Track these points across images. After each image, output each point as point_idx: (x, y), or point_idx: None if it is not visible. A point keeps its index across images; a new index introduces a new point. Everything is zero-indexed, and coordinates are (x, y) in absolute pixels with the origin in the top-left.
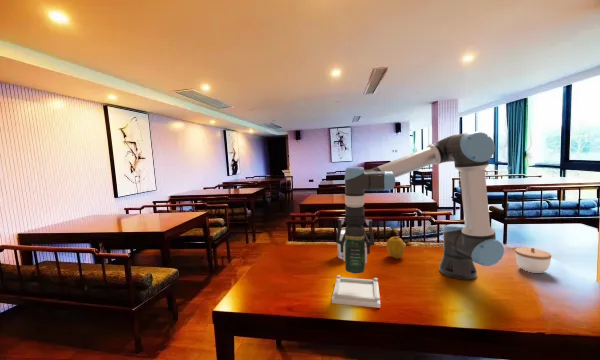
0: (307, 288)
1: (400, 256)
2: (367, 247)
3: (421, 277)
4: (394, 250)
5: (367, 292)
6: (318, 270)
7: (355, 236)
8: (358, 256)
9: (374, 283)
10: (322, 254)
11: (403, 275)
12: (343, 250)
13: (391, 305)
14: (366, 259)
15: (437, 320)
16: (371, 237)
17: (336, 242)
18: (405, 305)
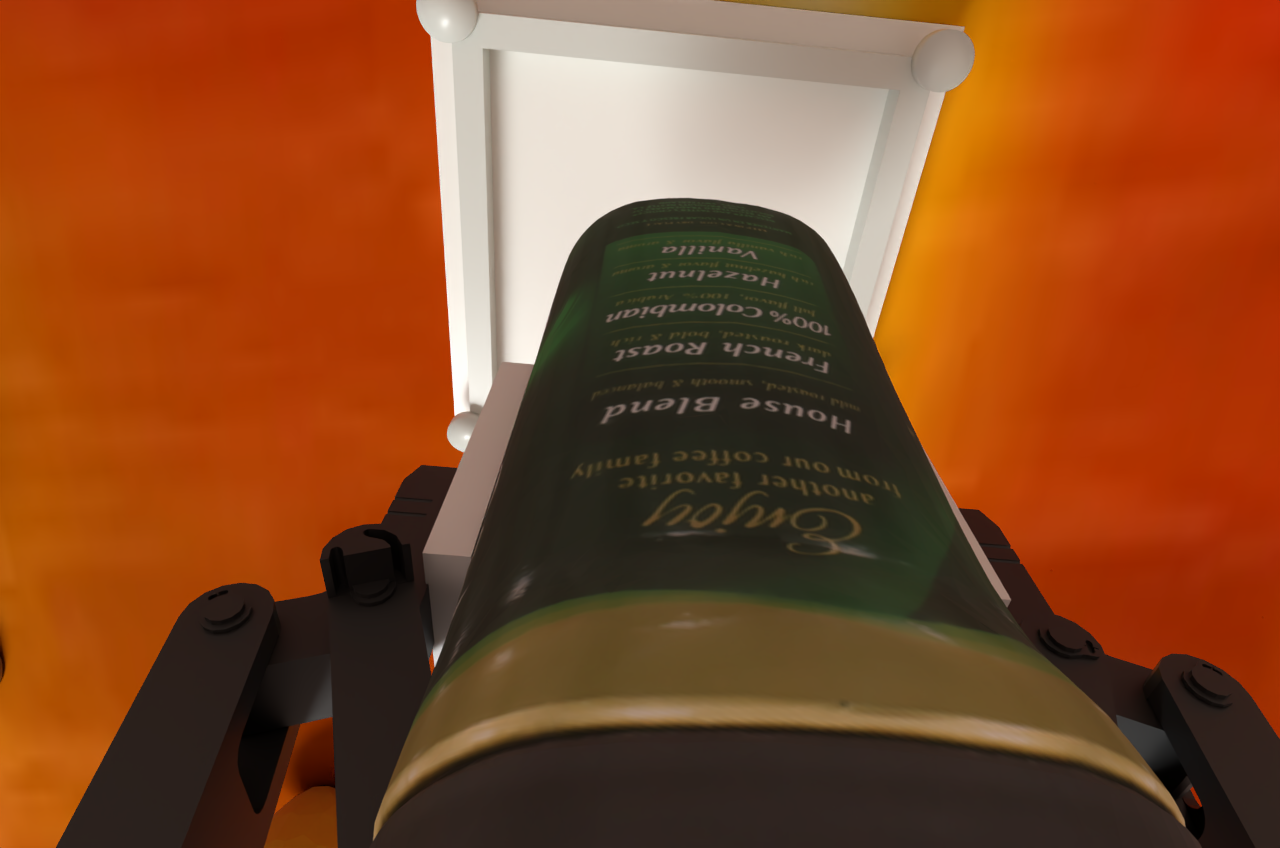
0: (1140, 309)
1: (291, 800)
2: (420, 563)
3: (118, 554)
4: (310, 845)
5: (559, 220)
6: None
7: (795, 742)
8: (649, 322)
9: (482, 363)
10: None
11: (260, 574)
12: (959, 515)
13: (328, 42)
14: (499, 391)
15: None
16: (157, 796)
17: (1226, 673)
18: (193, 57)
